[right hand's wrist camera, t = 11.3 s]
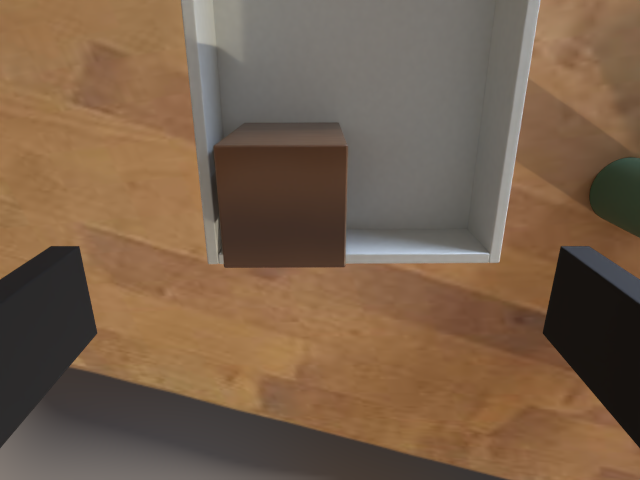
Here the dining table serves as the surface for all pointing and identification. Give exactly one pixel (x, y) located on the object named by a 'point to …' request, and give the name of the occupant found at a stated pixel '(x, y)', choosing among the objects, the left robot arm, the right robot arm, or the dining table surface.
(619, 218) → the dark green cylinder
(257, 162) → the walnut block
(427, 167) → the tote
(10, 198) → the dining table surface
